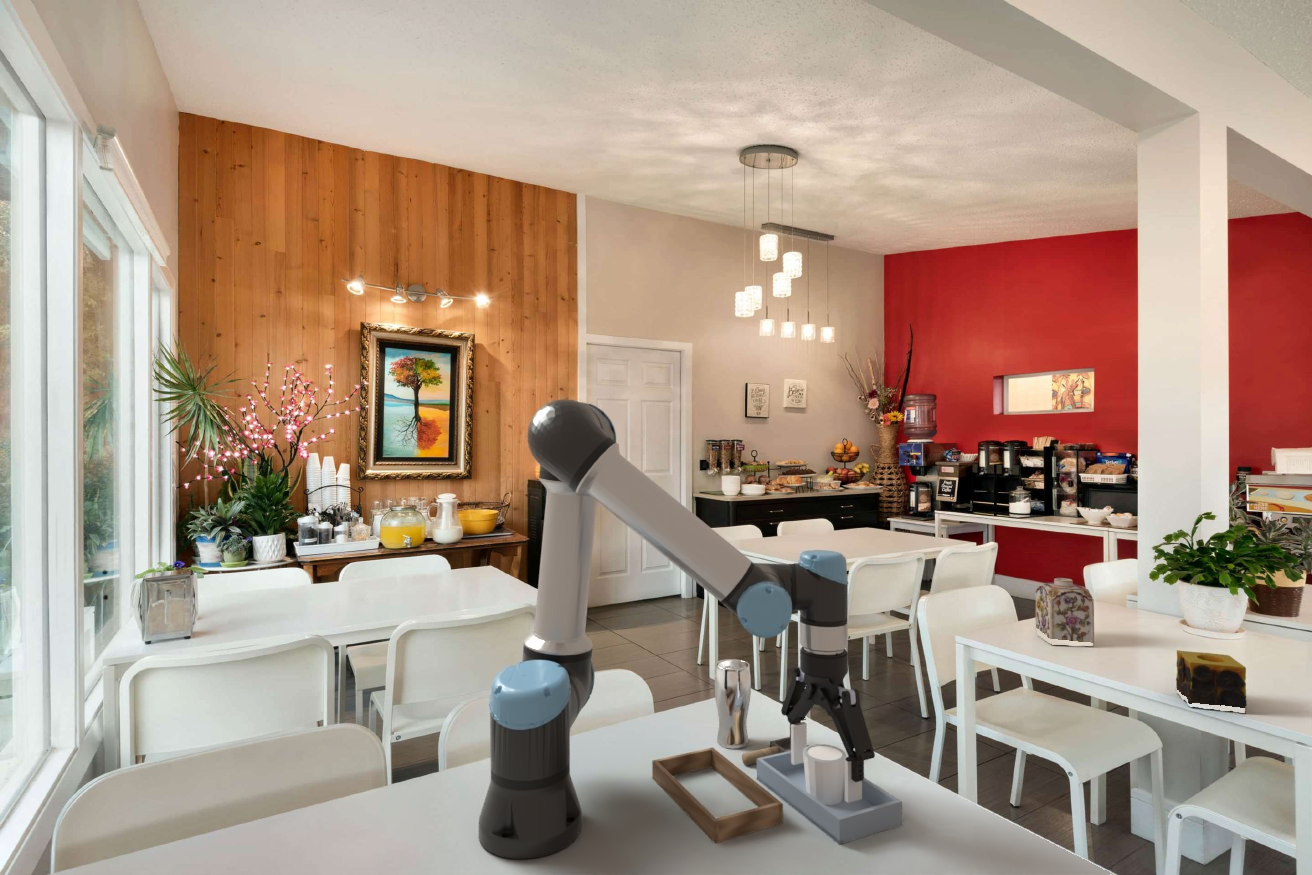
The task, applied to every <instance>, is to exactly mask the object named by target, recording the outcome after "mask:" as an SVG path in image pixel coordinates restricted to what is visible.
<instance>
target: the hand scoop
mask: <svg viewBox="0 0 1312 875" xmlns="http://www.w3.org/2000/svg"><path fill="white" fill-rule="evenodd" d="M809 745H810V744H807V746H809ZM787 751H791V740H790V736H787V737H784V738H783V737H782V738H779V739H774V740H770V741H769V747H766V748H761V749H755V750H752V751H748V752H743V753H742V755H741V761H742V763H743V765H744V766H750V765H755V764H757V758H761V757H765V756H770V755H774V754H778V753H783V752H787Z"/></svg>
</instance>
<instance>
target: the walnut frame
mask: <svg viewBox="0 0 1312 875" xmlns="http://www.w3.org/2000/svg"><path fill="white" fill-rule="evenodd" d="M651 761H652V763H651V765H652V768H651V770H652V772H651V773H652V776H651V777H652V778H651V779H653V780H654V781H655V782H656V784H657V785H658V786H659V787H660V788H661V789H662V790H663V791H664V792H665V793H666V794H667V795H668V796H669V797H670V798H671V799H672V800H673V801H674V803H676V804H677V806H678V807H680V809H681V810H682V811H684V813H685V814H686V815H687V816H688V817H689V818H690V819H691V820H692V821H693V822H694V823H695V824H696V826H698V827H699V829H701V830H702V831H703V832H704V834H705V835H707V837H708V838H709V839H710V840H711V842H713V843H714V844H715V843H719V842H723V841H726V840H729V839H733V838H738V837H739V836H740V837H741V836H744V835H747V834H751V833H754V832H758V831H762V830H765V829H767V828H772V827H775V826H779V825H782V824H784V804H783V802H782V801H780V800H779V799H778V798H777V797H776V796H774V795H773V794H772V793H771V792H769V791H768V790H766V789H765V788H764V787H763V786H762V785H760V784H759V783H758V782H756V781H755V780H754V779H753V778H752V777H750V776H749V775H748V774H747V773H745V772H744V771H743V770H742V769H741V768H739V767H738V766H737V765H736V764H734V763H733V762H731V761H730V760H729V759H728V758H726V757H725V756H724V755H723V754H721V753H720V752H719V751H718V750H717V749H716V748H714V747H708V748H704V749H700V750H694V751H691V752H686V753H681V754H677V755H672V756H666V757H662V758H658V759H653V760H651ZM707 768H711V769H713V770H715V771H716V772H717V773H718V774H719V775H720V776H721V777H722V778H723V779H725V780H726V781H728V782H729V783H730V785H732V786H733V787H734V788H736V790H738V791H739V792H740V793H741V794H743V795H744V796H745V797H746V798H747V799H749V801H751V802H752V803H753V804H755V806H756V807H754V808H751V809H750V808H749V809H747V810H744V811H743V810H742V811H739V812H735V813H731V814H728V815H723V816H721V817H717V818H716V816H714V814H712V813H711V812H710V811H709V810H708V809H707V808H706V807H705V806H704V805H703V804H702V803H701V802H700V801H699V800H698V799H697V798H696V797H695V796H694V795H693V794H692V793H691V792H690V791H689V790H688V789H687V788H686V787H685V786H684V785H682V783H681V782H680V781H678V780H677V779H676V778H675V777H674V776H676V775H682V774H686V773H689V772H690V773H691V772H694V771H698V770H702V769H707Z"/></svg>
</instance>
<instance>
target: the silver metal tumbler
mask: <svg viewBox="0 0 1312 875" xmlns="http://www.w3.org/2000/svg"><path fill="white" fill-rule="evenodd" d="M714 668H715V670H714V697H715V703H716V709H717V716H718V723H719V724H718V731H717V736H716V737H717V739H716V742H717V744H718V745H719V746H720V747H722V748H724V747H725V748H726V749H728V748H729V750H739V749H744V748H747V746H749V745H750V744H749V743H750V739H749V734H748V726H747V723H748V714H749V709H750V702H751V694H752V693H751V692H752V684H751V682H752V681H751V680H752V678H751V670H750V669H751V668H750V663H749V662H747V661H745V660H742V659H737V658H729V659H728V658H726V659H721V660H718V661H716V662H715V667H714Z"/></svg>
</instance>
